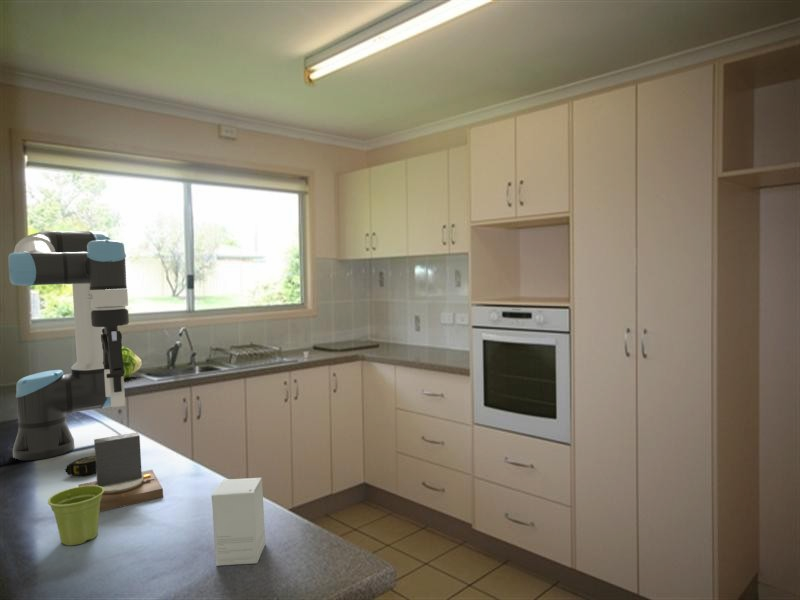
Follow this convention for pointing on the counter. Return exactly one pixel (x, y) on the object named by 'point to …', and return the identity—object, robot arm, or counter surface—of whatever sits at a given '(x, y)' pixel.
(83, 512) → the plant pot
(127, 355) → the lettuce
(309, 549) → the counter surface
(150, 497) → the dial base plate
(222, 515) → the supplement box
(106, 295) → the robot arm
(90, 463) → the tape measure
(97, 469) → the dial knob
